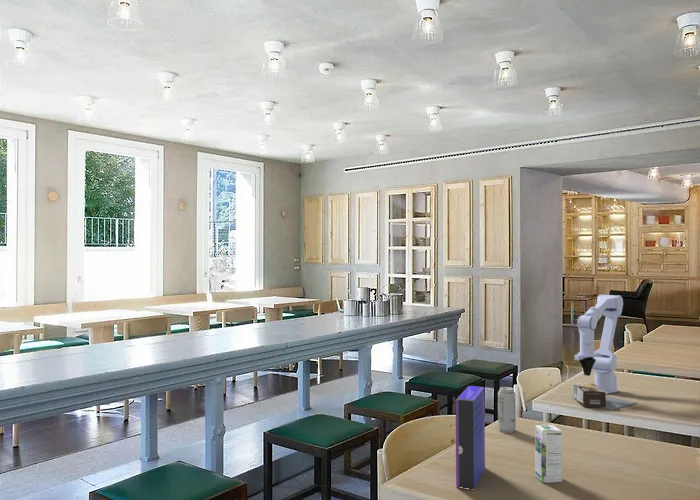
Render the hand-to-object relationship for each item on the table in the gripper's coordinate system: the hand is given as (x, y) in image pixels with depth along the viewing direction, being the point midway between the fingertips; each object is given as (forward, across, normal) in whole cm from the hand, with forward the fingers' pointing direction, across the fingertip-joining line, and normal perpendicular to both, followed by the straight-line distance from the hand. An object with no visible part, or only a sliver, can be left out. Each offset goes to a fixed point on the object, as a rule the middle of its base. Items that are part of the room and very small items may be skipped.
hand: (587, 375), depth 253 cm
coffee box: (+6, +1, -2) cm, 7 cm away
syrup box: (+10, +87, +49) cm, 100 cm away
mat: (+10, 0, +9) cm, 14 cm away
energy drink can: (+10, +63, +12) cm, 65 cm away
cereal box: (+10, +104, +36) cm, 111 cm away
